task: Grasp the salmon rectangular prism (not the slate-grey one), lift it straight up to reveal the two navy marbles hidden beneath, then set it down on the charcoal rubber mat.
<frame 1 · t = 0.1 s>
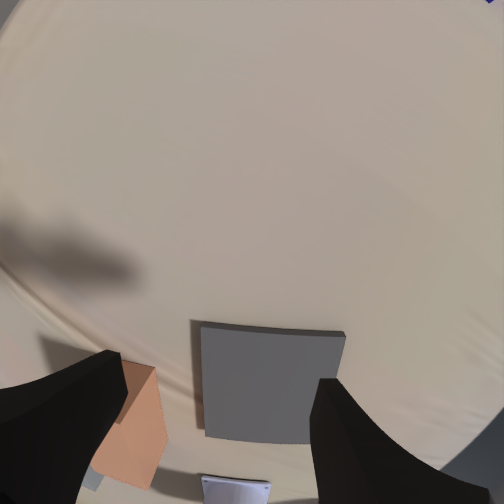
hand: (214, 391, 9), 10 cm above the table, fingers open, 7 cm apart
charcoal mat: (266, 392, 21), on the table
salmon rectangular prism: (134, 402, 22), on the table
grey rectangular block: (91, 434, 25), on the table
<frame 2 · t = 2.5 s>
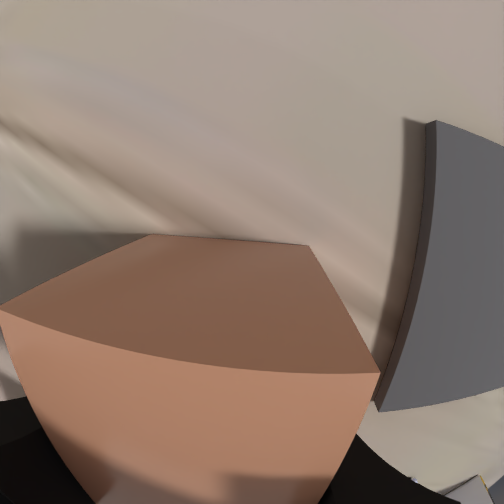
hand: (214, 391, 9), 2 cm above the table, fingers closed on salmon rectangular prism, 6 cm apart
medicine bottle: (449, 498, 14), on the table
charcoal mat: (492, 284, 9), on the table
salmon rectangular prism: (222, 362, 11), on the table, touching gripper
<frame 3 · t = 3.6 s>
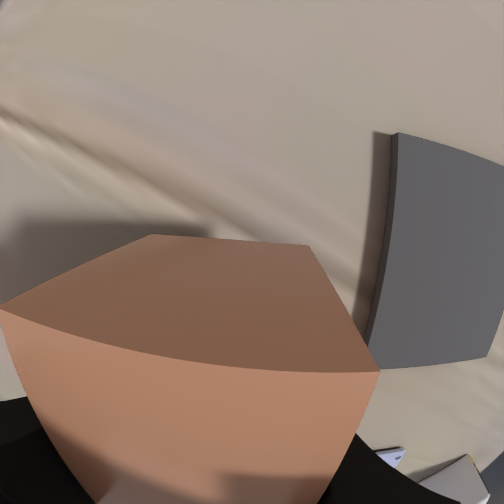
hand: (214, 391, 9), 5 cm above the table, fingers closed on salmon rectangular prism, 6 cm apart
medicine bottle: (441, 477, 18), on the table
charcoal mat: (456, 264, 12), on the table
salmon rectangular prism: (222, 361, 11), point 3 cm above the table, touching gripper
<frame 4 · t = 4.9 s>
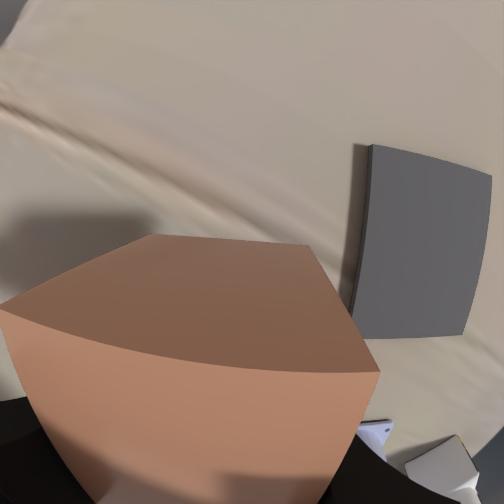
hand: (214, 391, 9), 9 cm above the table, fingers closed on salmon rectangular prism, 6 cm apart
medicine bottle: (432, 458, 21), on the table
charcoal mat: (427, 250, 16), on the table
salmon rectangular prism: (222, 361, 11), point 7 cm above the table, touching gripper
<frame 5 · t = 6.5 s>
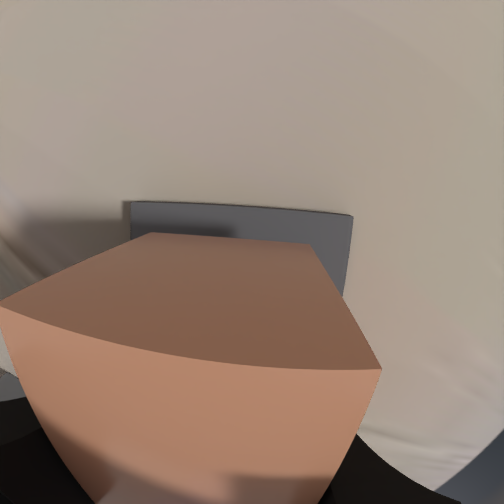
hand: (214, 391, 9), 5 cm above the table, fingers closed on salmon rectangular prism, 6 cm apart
charcoal mat: (233, 326, 14), on the table
salmon rectangular prism: (222, 360, 11), point 3 cm above the table, touching gripper
grey rectangular block: (32, 402, 18), on the table
when the fingers open (4 cm above the table, at t = 7.7 s): salmon rectangular prism drops 1 cm, resting on charcoal mat.
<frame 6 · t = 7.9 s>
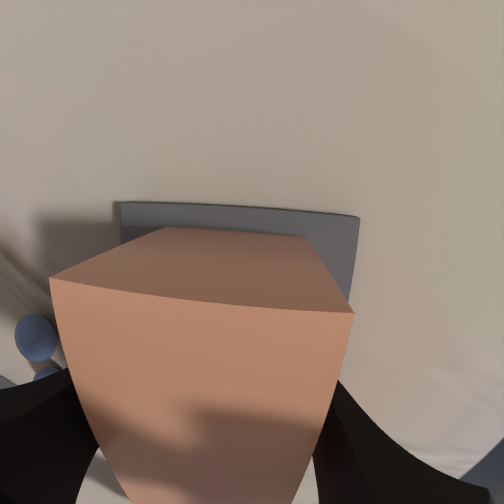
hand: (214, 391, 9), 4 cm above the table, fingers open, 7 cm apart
marble 1: (63, 376, 15), on the table
charcoal mat: (230, 335, 13), on the table
salmon rectangular prism: (228, 342, 12), point 1 cm above the table, touching charcoal mat
marble 2: (49, 328, 14), on the table
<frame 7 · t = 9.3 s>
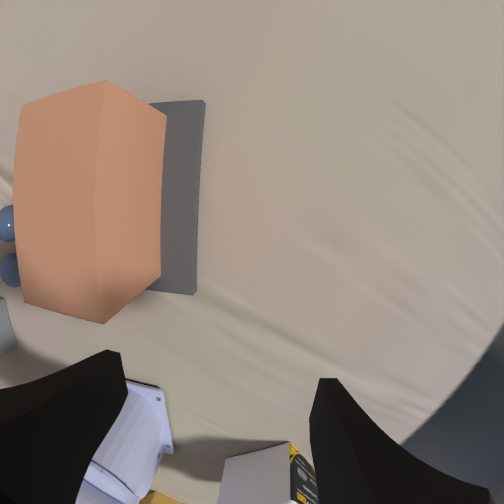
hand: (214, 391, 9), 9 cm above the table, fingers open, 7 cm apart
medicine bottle: (273, 464, 22), on the table
marble 1: (24, 265, 19), on the table
charcoal mat: (127, 196, 17), on the table
salmon rectangular prism: (122, 195, 16), point 1 cm above the table, touching charcoal mat
rubber stamp: (159, 502, 27), on the table
marble 2: (20, 221, 18), on the table
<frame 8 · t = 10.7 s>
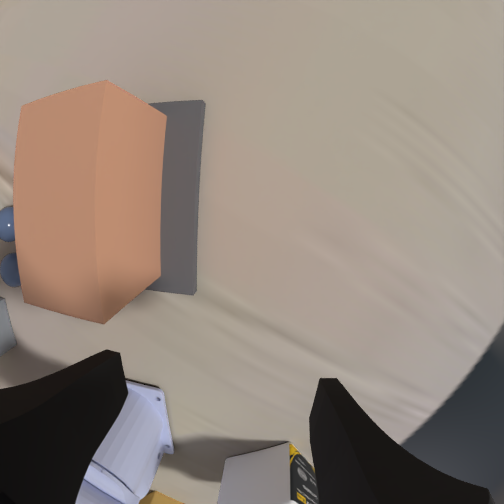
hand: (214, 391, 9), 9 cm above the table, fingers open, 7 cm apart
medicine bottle: (273, 464, 22), on the table
marble 1: (24, 265, 19), on the table
charcoal mat: (127, 196, 17), on the table
salmon rectangular prism: (121, 195, 16), point 1 cm above the table, touching charcoal mat
rubber stamp: (159, 502, 27), on the table
marble 2: (20, 221, 18), on the table
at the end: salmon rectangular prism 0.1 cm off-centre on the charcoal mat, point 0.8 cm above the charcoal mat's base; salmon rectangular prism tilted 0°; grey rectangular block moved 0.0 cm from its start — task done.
